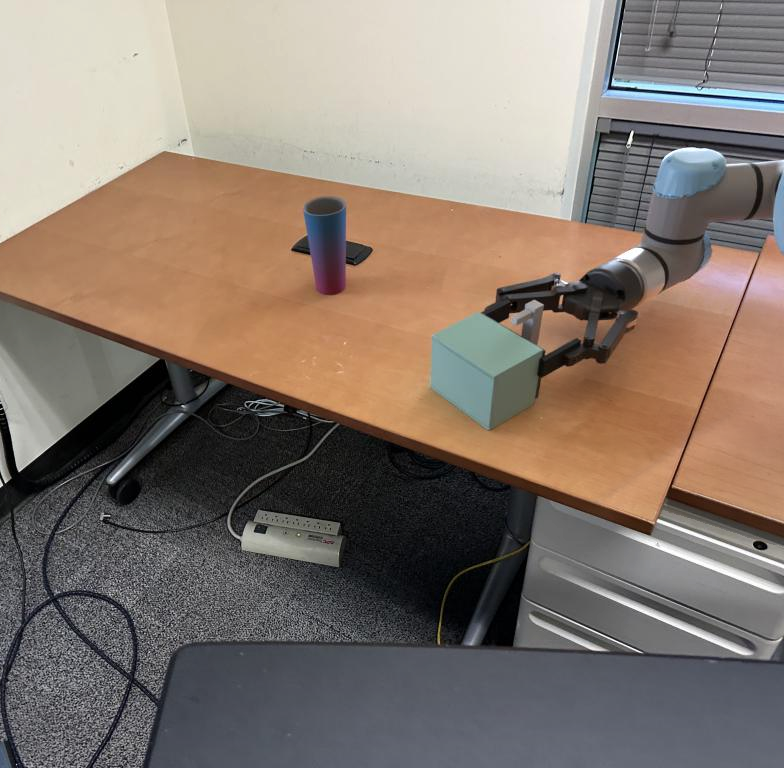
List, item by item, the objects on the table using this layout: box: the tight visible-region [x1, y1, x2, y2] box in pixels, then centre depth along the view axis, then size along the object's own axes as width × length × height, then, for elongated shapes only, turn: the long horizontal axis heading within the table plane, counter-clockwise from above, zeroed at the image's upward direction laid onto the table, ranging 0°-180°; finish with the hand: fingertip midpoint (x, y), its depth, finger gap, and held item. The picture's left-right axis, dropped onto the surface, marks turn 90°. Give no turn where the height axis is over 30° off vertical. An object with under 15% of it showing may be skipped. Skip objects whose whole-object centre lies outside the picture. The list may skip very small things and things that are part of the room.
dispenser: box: [429, 311, 543, 431], centre depth 89 cm, size 8×11×9 cm
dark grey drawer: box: [480, 300, 547, 400], centre depth 89 cm, size 12×11×10 cm
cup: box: [302, 195, 347, 296], centre depth 112 cm, size 7×7×15 cm
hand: (505, 346), depth 89 cm, fingers closed on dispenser, 11 cm apart
